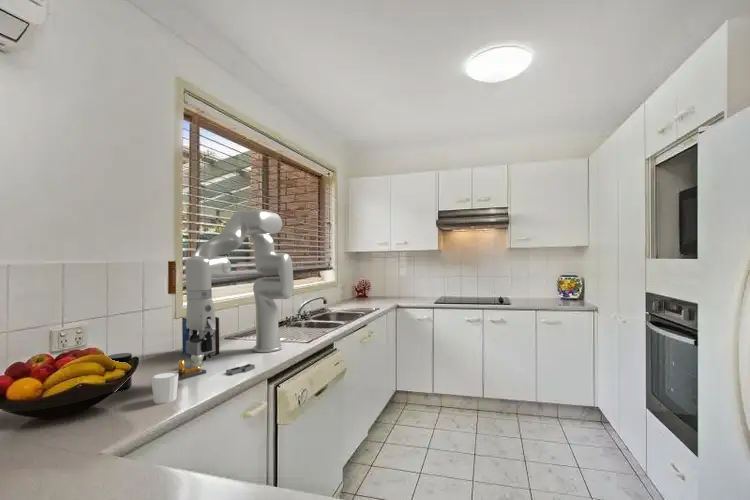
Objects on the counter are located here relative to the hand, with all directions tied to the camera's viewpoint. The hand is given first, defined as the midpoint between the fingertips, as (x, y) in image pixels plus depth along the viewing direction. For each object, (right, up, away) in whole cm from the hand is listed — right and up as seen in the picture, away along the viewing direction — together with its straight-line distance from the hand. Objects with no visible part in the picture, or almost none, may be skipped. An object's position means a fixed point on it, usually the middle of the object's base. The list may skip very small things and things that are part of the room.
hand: (200, 349), depth 128 cm
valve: (-10, -11, +22) cm, 27 cm away
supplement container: (-22, -11, -7) cm, 26 cm away
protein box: (-17, -12, +39) cm, 44 cm away
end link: (0, -1, 0) cm, 1 cm away
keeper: (-8, -11, +6) cm, 15 cm away
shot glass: (-3, -10, -17) cm, 20 cm away
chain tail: (+9, -10, +10) cm, 17 cm away
